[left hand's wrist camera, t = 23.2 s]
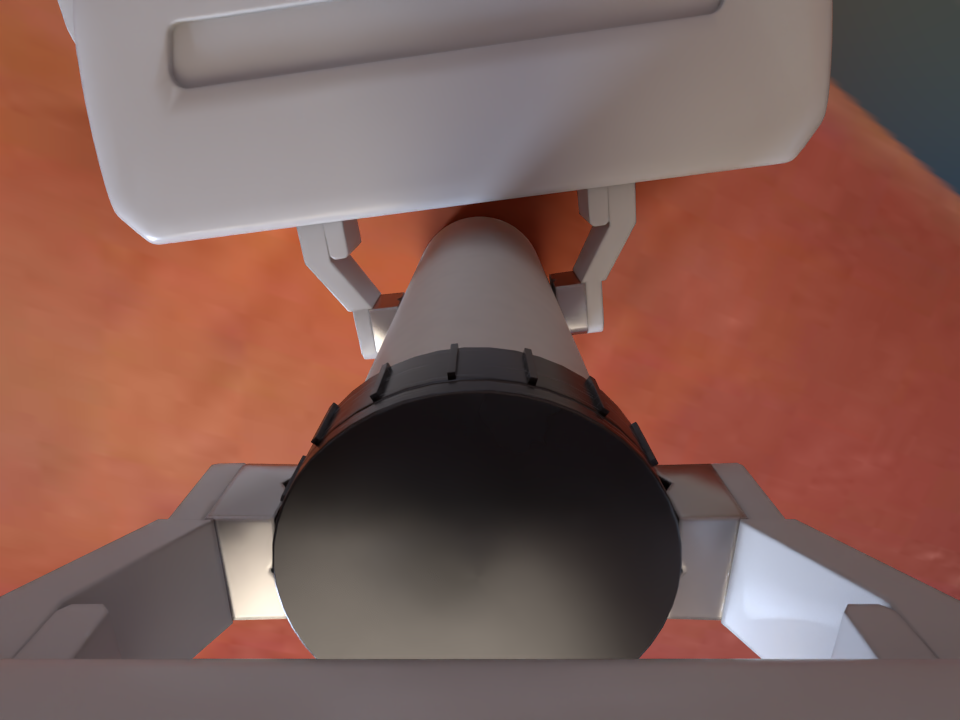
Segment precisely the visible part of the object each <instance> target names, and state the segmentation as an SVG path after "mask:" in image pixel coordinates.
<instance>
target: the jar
mask: <svg viewBox="0 0 960 720" xmlns="http://www.w3.org/2000/svg"><path fill="white" fill-rule="evenodd" d="M456 343H458V346H459V348H463V347H491V348H500V349H508V350H515V351H519V352H523V351H524V348H528V349H531V350H532V354H533V355H535V356H539V357H542V358H544V359H547V360H549V361H552V362H555V363H557V364H560V365H562V366H564V367H566V368H568V369H570V370H571V371H573V372H575V373H577V374H579V375H580V376H582V377H584V378H585V379H587V378H588V377H589V374H588V371H587V369H586V367H585V365H584V362H583V360H582V358H581V355H580V353H579V351H578V348H577V346H576V344H575V341H574V339H573V337H572V334H571V332H570V330H569V328H568V325H567V323H566V321H565V318H564V316H563V314H562V311H561V309H560V307H559V304H558V302H557V300H556V297H555V295H554V293H553V290H552V288H551V286H550V284H549V281H548V279H547V277H546V274H545V272H544V270H543V267H542V265H541V263H540V260H539V258H538V256H537V253H536V251H535V249H534V248H533V246H532V244H531V243H530V241H529V240H528V239H527V238H526V237H525V236H524V234H523V233H522V232H520V231H519V230H518V229H517V228H515V227H514V226H512V225H510V224H509V223H506V222H504V221H502V220H499V219H495V218H491V217H469V218H465V219H461V220H458V221H456V222H453V223H451V224H450V225H448V226H446V227H445V228H443V229H442V230H441V231H439V232H438V233H437V234H436V235H435V236H434V237H433V239H432V240H431V241H430V243H429V244H428V246H427V247H426V249H425V251H424V253H423V255H422V257H421V260H420V262H419V264H418V266H417V268H416V271H415V273H414V275H413V277H412V279H411V282H410V284H409V286H408V288H407V290H406V293H405V295H404V297H403V299H402V301H401V303H400V306H399V308H398V310H397V312H396V314H395V317H394V319H393V321H392V323H391V325H390V328H389V330H388V332H387V334H386V336H385V339H384V341H383V343H382V345H381V347H380V350H379V352H378V354H377V356H376V358H375V361H374V363H373V365H372V367H371V369H370V371H369V374H368V376H367V378H366V380H365V381H367V380H368V379H369V378H371V377H372V376H374V375H376V374H378V373H379V372H380V369H381V367H382V365H384V364H386V363H389V365H390V366H392V365H395V364H397V363H400V362H402V361H405V360H407V359H410V358H413V357H415V356H419V355H423V354H427V353H431V352H435V351H439V350H447V349H450V347H451V344H456Z"/></svg>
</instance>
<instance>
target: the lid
mask: <svg viewBox="0 0 960 720" xmlns="http://www.w3.org/2000/svg"><path fill="white" fill-rule="evenodd" d="M311 442H312V443H313V445H312V446H311V448H310V450H309V452H308V454H307V456H302V458H301V460H300V462H299V464H298V466H297V467H296V469H295V471H294V473H293V475H292V477H291V479H290V480H289V482H288V484H287V486H286V488H285V490H284V492H283V493H282V495H281V499H280V501H282V505H281V508H280V511H279V514H278V517H277V520H276V524H275V530H274V536H273V542H272V567H273V574H274V580H275V586H276V590H277V593H278V596H279V599H280V603H281V606H282V609H283V611H284V613H285V615H286V617H287V619H288V621H289V623H290V625H291V627H292V628H293V630H294V631H295V633H296V634H297V636H298V637H299V639H300V640H301V641H302V643H303V644H304V646H305V647H306V648H307V649H308V650H309V651H310V652H311V654H312V655H313V656H314V657H315V658H316V659H639V658H640V657H641V655H642V654H643V653H644V652H645V651H646V650H647V649H648V648H649V646H650V645H651V644H652V642H653V641H654V639H655V638H656V637H657V635H658V634H659V632H660V631H661V629H662V628H663V626H664V624H665V622H666V620H667V618H668V615H669V613H670V611H671V609H672V607H673V604H674V601H675V597H676V594H677V591H678V588H679V581H680V575H681V568H682V542H681V536H680V531H679V525H678V520H677V517H676V514H675V512H674V509H673V506H672V503H671V500H670V498H669V496H668V494H667V492H666V490H665V488H664V486H663V484H662V482H661V480H660V478H659V476H658V474H657V472H656V470H655V468H654V466H655V465H657V464H658V462H657V460H656V458H655V456H654V454H653V452H652V450H651V448H650V447H649V445H648V443H647V441H646V439H645V437H644V435H643V433H642V431H641V430H640V428H639V426H638V424H637V423H636V422H635V423H633V424H631V423H630V422H629V420H628V419H627V418H626V417H625V415H624V414H623V413H622V411H621V410H620V409H619V407H618V406H617V405H616V404H615V403H614V402H613V401H612V400H611V399H610V398H609V397H608V396H607V395H606V394H605V393H604V392H603V391H601V390H600V389H599V387H598V385H597V382H596V380H595V379H594V378H593V377H591V376H589V377H588V378H587V379H585V378H584V377H582V376H580V375H579V374H577V373H575V372H573V371H571V370H570V369H568V368H566V367H564V366H562V365H560V364H557V363H555V362H552V361H549V360H547V359H544V358H542V357H539V356H535V355H533V354H532V350H531V349H528V348H524V351H523V352H519V351H515V350H508V349H500V348H491V347H463V348H459V346H458V343H456V344H451V347H450V349H447V350H439V351H435V352H431V353H427V354H423V355H419V356H415V357H413V358H410V359H407V360H405V361H402V362H400V363H397V364H395V365H392V366H390V365H389V363H386V364H384V365H382V367H381V369H380V372H379V373H378V374H376V375H374V376H372V377H371V378H369V379H368V380H367V381H365V382H364V383H363V384H361V385H360V386H359V387H357V388H356V389H355V390H353V391H352V392H351V393H350V394H349V395H348V396H347V397H346V398H345V399H344V400H343V401H342V402H341V403H340V404H339V405H337V404H335V403H333V404H332V405H331V406H330V407H329V409H328V411H327V413H326V415H325V417H324V419H323V420H322V422H321V424H320V426H319V428H318V430H317V432H316V434H315V435H314V437H313V439H312V441H311Z"/></svg>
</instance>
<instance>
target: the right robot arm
mask: <svg viewBox="0 0 960 720" xmlns="http://www.w3.org/2000/svg"><path fill="white" fill-rule="evenodd" d="M58 3H59V6H60V9H61V12H62V15H63V18H64V21H65V24H66V27H67V29H68V31H69V33H70V35H71V37H72V39H73V41H74V42H75V43H76V51H77V57H78V63H79V69H80V75H81V82H82V87H83V93H84V98H85V104H86V108H87V113H88V117H89V122H90V127H91V131H92V136H93V140H94V144H95V148H96V152H97V157H98V161H99V165H100V168H101V172H102V176H103V179H104V183H105V186H106V190H107V193H108V196H109V199H110V202H111V204H112V207H113V209H114V211H115V213H116V214H117V215H118V217H120V218H121V219H122V220H123V221H124V222H125V223H126V224H128V225H129V226H130V227H131V228H132V229H133V230H135V231H136V232H137V233H138V234H139V235H141V236H142V237H143V238H144V239H146V240H147V241H148V242H150V243H153V244H167V243H175V242H183V241H191V240H198V239H206V238H214V237H221V236H229V235H237V234H244V233H252V232H260V231H267V230H275V229H283V228H290V227H297V231H298V235H299V239H300V244H301V248H302V252H303V256H304V261H305V264H306V265H307V266H308V268H309V269H310V270H311V271H312V272H313V273H314V274H315V275H316V276H317V277H318V278H319V280H320V281H321V282H322V283H323V284H324V285H325V286H326V287H327V288H328V289H329V291H330V292H331V293H332V294H333V295H334V296H335V297H336V298H337V299H338V300H339V302H340V303H341V304H342V305H343V306H344V307H345V308H346V309H347V310H348V311H349V312H350V311H353V315H354V320H355V325H356V329H357V334H358V338H359V343H360V348H361V352H362V355H363V357H364V359H375V358H376V356H377V354H378V352H379V350H380V347H381V345H382V343H383V341H384V339H385V336H386V334H387V332H388V330H389V328H390V325H391V323H392V321H393V319H394V317H395V314H396V312H397V310H398V308H399V306H400V303H401V301H402V299H403V297H404V295H405V293H404V292H402V293H392V294H382V295H380V294H381V293H380V292H379V290H378V289H377V288H376V287H375V285H374V284H373V283H372V282H371V280H370V279H369V278H368V277H367V275H366V274H365V273H364V272H363V270H362V269H361V268H360V267H359V265H358V264H357V263H356V262H355V260H354V259H353V258H352V257H351V255H350V253H351V252H352V251H353V250H354V249H355V248H356V247H357V246H358V245H359V244H360V243H361V238H360V232H359V227H358V222H357V219H359V218H367V217H375V216H382V215H390V214H398V213H405V212H413V211H421V210H428V209H436V208H444V207H451V206H459V205H467V204H474V203H482V202H490V201H497V200H505V199H513V198H520V197H528V196H536V195H543V194H551V193H559V192H566V191H574V190H577V193H578V205H579V214H580V215H581V216H582V217H583V218H584V219H585V220H587V221H588V222H589V223H590V224H591V225H593V226H592V229H591V231H590V233H589V235H588V237H587V239H586V242H585V244H584V246H583V248H582V250H581V252H580V255H579V257H578V259H577V261H576V263H575V265H574V268H573V271H568V272H562V273H555V274H549V277H550V286H551V288H552V290H553V293H554V295H555V297H556V300H557V302H558V304H559V307H560V309H561V311H562V314H563V316H564V318H565V321H566V323H567V325H568V328H569V330H570V332H571V334H572V335H576V334H585V333H593V332H601V331H603V327H604V316H603V298H602V281H603V280H606V278H607V276H608V275H609V273H610V271H611V269H612V267H613V265H614V263H615V261H616V259H617V258H618V256H619V254H620V252H621V250H622V248H623V246H624V244H625V242H626V241H627V239H628V237H629V235H630V233H631V231H632V229H633V227H634V225H635V224H636V199H635V182H643V181H651V180H658V179H666V178H674V177H682V176H689V175H697V174H705V173H712V172H720V171H728V170H735V169H743V168H751V167H758V166H766V165H773V164H780V163H786V162H789V161H792V160H793V159H794V158H795V157H796V156H797V155H798V154H799V153H800V152H801V150H802V149H803V148H804V147H805V145H806V144H807V142H808V141H809V140H810V138H811V137H812V135H813V134H814V133H815V131H816V130H817V128H818V127H819V126H820V124H821V122H822V121H823V118H824V116H825V112H826V107H827V103H828V95H829V86H830V72H831V53H832V22H833V0H58Z"/></svg>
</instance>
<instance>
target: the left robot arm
mask: <svg viewBox="0 0 960 720" xmlns="http://www.w3.org/2000/svg"><path fill="white" fill-rule="evenodd" d="M297 466H298V465H297V464H245V463H221V464H214V465H212V466H211V467H210V468H209V469H208V470H207V471H206V473H205V474H204V475H203V476H202V478H201V479H200V480H199V481H198V483H197V484H196V485H195V486H194V488H193V489H192V490H191V491H190V493H189V494H188V495H187V496H186V498H185V499H184V500H183V501H182V503H181V504H180V505H179V506H178V508H177V509H176V510H175V511H174V512H173V514H172V515H171V516H170V517H169V519H158V520H156V521H154V522H152V523H150V524H148V525H146V526H144V527H142V528H140V529H138V530H136V531H134V532H131V533H129V534H127V535H125V536H123V537H121V538H119V539H117V540H115V541H113V542H111V543H109V544H107V545H105V546H103V547H101V548H99V549H97V550H95V551H93V552H91V553H89V554H87V555H84V556H82V557H80V558H78V559H76V560H74V561H72V562H70V563H68V564H66V565H64V566H62V567H60V568H58V569H56V570H54V571H52V572H50V573H48V574H46V575H44V576H42V577H40V578H38V579H35V580H33V581H31V582H29V583H27V584H25V585H23V586H21V587H19V588H17V589H15V590H13V591H11V592H9V593H7V594H5V595H3V596H1V597H0V720H960V601H959V600H957V599H955V598H953V597H951V596H949V595H947V594H945V593H943V592H941V591H939V590H937V589H935V588H933V587H931V586H929V585H927V584H925V583H923V582H921V581H919V580H917V579H915V578H912V577H910V576H908V575H906V574H904V573H902V572H900V571H898V570H896V569H894V568H892V567H890V566H888V565H886V564H884V563H882V562H880V561H878V560H876V559H874V558H872V557H870V556H868V555H866V554H864V553H862V552H860V551H858V550H856V549H854V548H852V547H850V546H848V545H846V544H844V543H842V542H840V541H838V540H836V539H834V538H832V537H830V536H828V535H826V534H824V533H822V532H820V531H818V530H816V529H814V528H812V527H810V526H808V525H806V524H804V523H802V522H800V521H798V520H796V519H785V518H784V517H783V515H782V514H781V513H780V512H779V510H778V509H777V508H776V507H775V505H774V504H773V503H772V502H771V500H770V499H769V498H768V497H767V495H766V494H765V493H764V491H763V490H762V489H761V488H760V486H759V485H758V484H757V483H756V481H755V480H754V479H753V478H752V476H751V475H750V474H749V473H748V471H747V470H746V469H745V467H744V466H743V465H741V464H738V463H720V464H682V465H655V466H654V468H655V470H656V472H657V474H658V476H659V478H660V480H661V482H662V484H663V486H664V488H665V490H666V492H667V494H668V496H669V498H670V500H671V503H672V506H673V509H674V512H675V514H676V517H677V520H678V525H679V531H680V536H681V542H682V568H681V575H680V581H679V588H678V591H677V594H676V597H675V601H674V604H673V607H672V609H671V611H670V613H669V615H668V618H667V619H698V620H721V623H722V624H723V625H724V626H725V627H727V628H728V629H729V630H730V631H731V632H732V633H733V634H735V635H736V636H737V637H738V638H739V639H740V640H741V641H742V642H744V643H745V644H746V645H747V646H748V647H749V648H750V649H751V650H753V651H754V652H755V653H756V654H757V655H758V656H759V657H761V658H762V659H192V658H193V657H195V656H196V655H197V654H198V653H199V652H200V651H201V650H203V649H204V648H205V647H206V646H207V645H208V644H209V643H211V642H212V641H213V640H214V639H215V638H216V637H217V636H219V635H220V634H221V633H222V632H223V631H224V630H225V629H227V628H228V627H229V626H230V625H231V624H232V623H233V621H232V620H255V619H287V617H286V615H285V613H284V611H283V609H282V606H281V603H280V599H279V596H278V593H277V590H276V586H275V580H274V574H273V567H272V542H273V536H274V530H275V524H276V520H277V517H278V514H279V511H280V508H281V505H282V501H280V499H281V495H282V493H283V492H284V490H285V488H286V486H287V484H288V482H289V480H290V479H291V477H292V475H293V473H294V471H295V469H296V467H297Z"/></svg>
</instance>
